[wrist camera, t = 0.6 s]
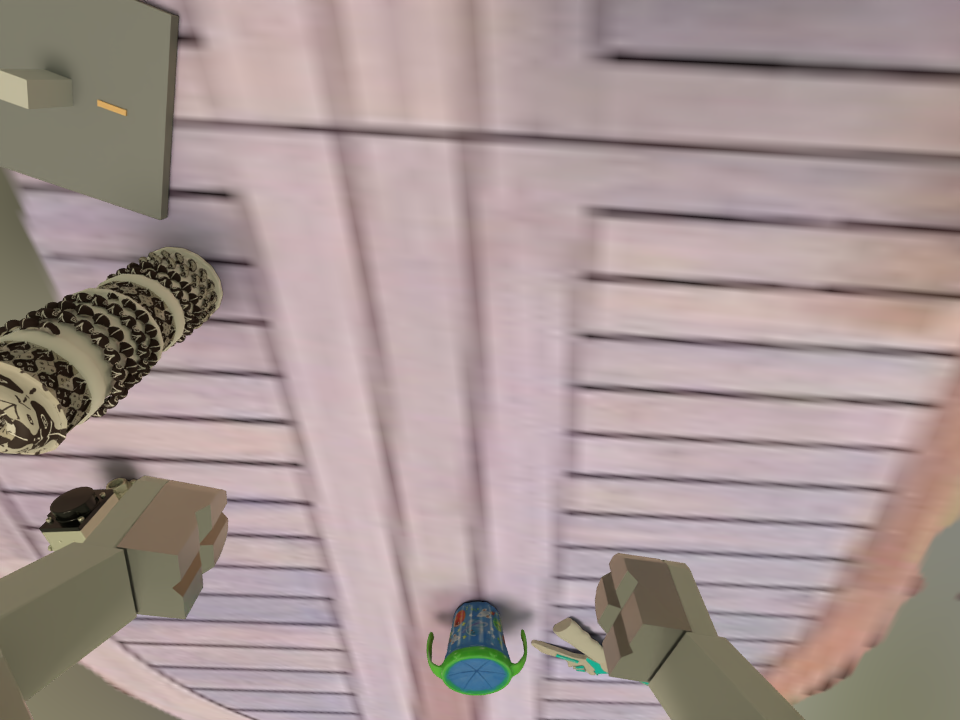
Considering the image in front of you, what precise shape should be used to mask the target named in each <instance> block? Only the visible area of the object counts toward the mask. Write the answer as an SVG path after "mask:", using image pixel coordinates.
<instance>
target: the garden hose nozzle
mask: <svg viewBox="0 0 960 720" xmlns="http://www.w3.org/2000/svg"><path fill="white" fill-rule="evenodd" d="M553 631H554V633H556V634H557V636H558V637H560V638H561V639H563V640H564V641H566V642H568V643H570V644H571V645H572V646H574V647H575V648H576V649H578V650H579V651H581V652H582V653H584V654H585V655H582V654H576V653H572V652H569V651H567V650H564V649H561V648H559V647H556V646H553V645H550V644H547V643H545V642H542V641H537V640H532V642H531V644H532V645H533V646H534V647H535V648H537V649H538V650H539V651H541V652H543V653H545V654H548V655H551V656H555V657H559V658H562V659H565V660H566V661H567V662H568V666H569V667H572V666H573V669H576V671H582V672H586V671H587V672H588V673H589V674H590V675H595V674H597V675H598V674H606V673H608V669H607V664H606V660H605V655H604V650H603V647H602V646H601V645H600V644H599V643H598V642H597V641H596V640H594V639H592V638H591V637H590V635H589V634H588V633H587V632H586V631H584V630H582V628H581V627H580V626H579V625H578V624H577V623H576V622H575V621H573V620H572V619H571V618H566V619H565V620H563V621H561V622H559V623H557V624H555V626H554V628H553ZM639 682H641V681H639ZM641 683H643V684H645V685H647V686H648V684H649V683H647V682H641Z"/></svg>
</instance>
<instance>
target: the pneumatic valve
mask: <svg viewBox="0 0 960 720" xmlns="http://www.w3.org/2000/svg"><path fill="white" fill-rule="evenodd" d="M135 481H137V480H135V479H133V480H131V481H126V479H125V478H117V479H114V480H112V481H111V482H109V483H108V484H107V486H106V489H99V490H93V489H92V488H90V487H79V488H75V489H72V490H70V491H67V492H65V493H64V494H62V495H60V496H59V497H58V498H56V499H55V500H54V501H53V503H52V504H51V506H50V511H51V512H50V513H49V514H48V515H47V516H48V518H47V519H46V522H45V523H44V524H43V525H42V526H41V527H40V528H39V529H40V530H41V532H42V533H43V535H44V536H45V538H46V539H47V540H48V542H49V543H50V545H49V546H48V550H49V551H57V550H59V549H61V548H63V547H65V546H67V545H69V544H71V543H73V542H78V543H83V542H84V541H85V540H86V538H87V537H88V536H89V535H90V534H91V533H92V531H93V530H94V529H95V528H96V527H97V526H98V524H99V523H100V522H101V521H102V520H103V519H104V517H105V516H106V515H107V514H108V513H109V512H110V510H111V509H112V508H113V507H114V506H115V505H116V503H117V502H118V501H119V500H120V499H121V498H122V496H123V495H124V494H125V493H126V492H127V491H128V489H129V488H130V487H131V486H132V485H133V484H134V482H135Z"/></svg>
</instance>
